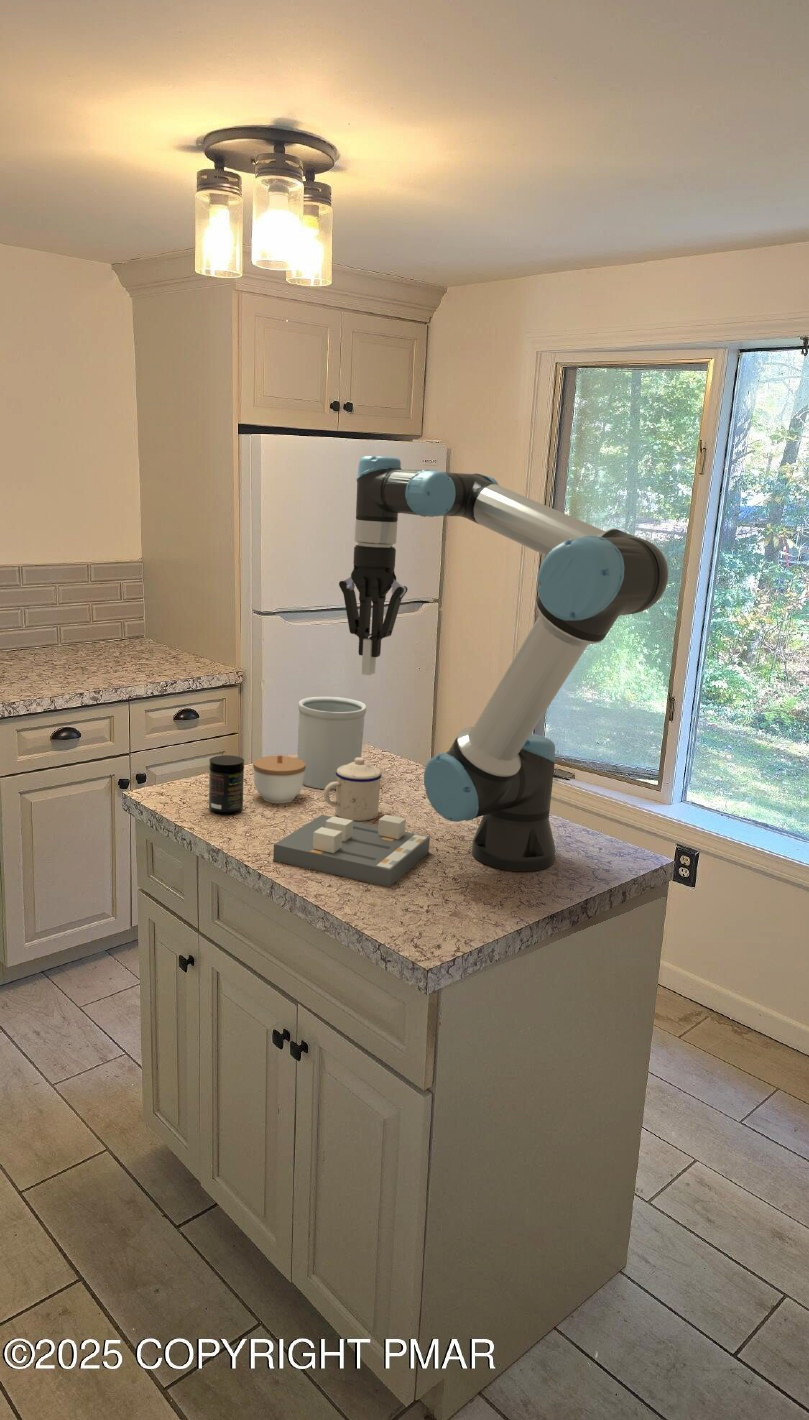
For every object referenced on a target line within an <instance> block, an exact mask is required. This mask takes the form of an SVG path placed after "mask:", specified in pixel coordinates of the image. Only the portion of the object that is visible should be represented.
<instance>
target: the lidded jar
mask: <svg viewBox="0 0 809 1420" xmlns="http://www.w3.org/2000/svg"><path fill="white" fill-rule="evenodd" d="M252 765H253V766H252V768H253V782H254V787H255V789H256V791H257V793H258V794H259V795H260V796H261V798H263V800H264V802H267V803H271V804H277V805H278V804H289V803H291V802H292V801H294V799H295V798H296V797H297V796H298V795H299V794H300V792H301V791H302V789H303V786H304V785H303V783H304V778H305V769H306V763H305V762H304V761H302V760H300V759H297V757H295V756H294V757H293V756H287V755H286V756H285V755H282V754H277V755H274V756H273V755H272V756H271V755H270V756H269V755H268V756H263V757H260V758H257V759H255V760H254V761H253V764H252Z"/></svg>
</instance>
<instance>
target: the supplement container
mask: <svg viewBox="0 0 809 1420" xmlns="http://www.w3.org/2000/svg"><path fill="white" fill-rule="evenodd" d="M208 763H209V764H208V769H209V771H208V775H209V776H208V778H209V779H208V781H209V782H208V809H209V811H210V813H212V814H214V815H219V816H233V815H237V814H240V813H241V812H242V810H243V808H244V778H245V775H244V774H245V759H244V758H243V757H240V756H236V755H230V754H227V755H224V754H223V755H216V756H212V757H210V758H209V762H208Z"/></svg>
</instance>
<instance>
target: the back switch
mask: <svg viewBox="0 0 809 1420" xmlns="http://www.w3.org/2000/svg"><path fill="white" fill-rule="evenodd" d="M406 821H407V818H404V817H399V816H394V815H388V814H385V815H383V816H382V817H380V818H379V819H378V826H379V827H378V835H380V836H384V837H389V838H394V839H400V838H401V837H402V836H403V835H405V832H406V823H407V822H406Z"/></svg>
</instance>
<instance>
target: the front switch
mask: <svg viewBox="0 0 809 1420" xmlns="http://www.w3.org/2000/svg"><path fill="white" fill-rule="evenodd" d="M341 846H342V831H338V830H333V829H329V828H324V827H321V828H319V829H318V830H316V831H315V832H313V849H316V850H321V851H326V852H330V853H335V852H336V851H337V850H339V849H340V848H341Z"/></svg>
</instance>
